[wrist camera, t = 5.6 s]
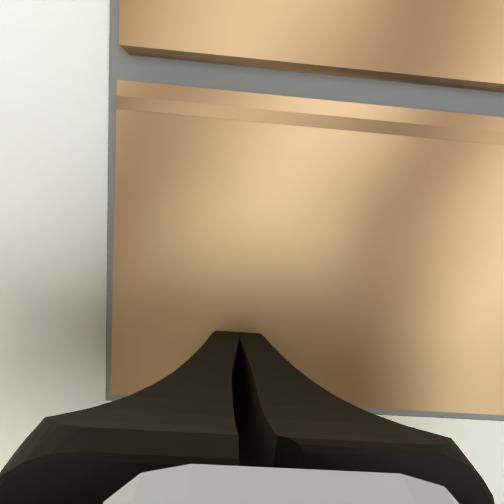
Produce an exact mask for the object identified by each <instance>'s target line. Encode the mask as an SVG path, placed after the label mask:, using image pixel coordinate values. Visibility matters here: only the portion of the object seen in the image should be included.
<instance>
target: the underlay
mask: <svg viewBox="0 0 504 504" xmlns="http://www.w3.org/2000/svg"><path fill="white" fill-rule="evenodd" d="M119 3H120V0H110V39H109V134H108V228H107V322H106V400H111V401H115V400H118V399H121V398H124V397H126V396H129V395H113V394H111V350H112V302H113V255H114V207H115V159H116V112H117V109H116V101H117V80H126V81H136V82H146V83H156V84H167V85H177V86H187V87H198V88H208V89H218V90H228V91H239V92H249V93H259V94H270V95H280V96H290V97H300V98H311V99H321V100H331V101H341V102H352V103H362V104H372V105H383V106H393V107H403V108H413V109H424V110H434V111H444V112H455V113H465V114H475V115H485V116H496V117H504V93H502V92H492V91H482V90H472V89H462V88H452V87H443V86H433V85H423V84H413V83H403V82H393V81H383V80H373V79H363V78H353V77H343V76H334V75H324V74H314V73H304V72H294V71H284V70H274V69H264V68H254V67H244V66H234V65H225V64H215V63H205V62H195V61H185V60H175V59H165V58H155V57H145V56H135V55H129V54H128V53H127V52H126V51H125V50H124V49H123V48H122V47H121V46H120V45H119ZM361 409H363V410H365V411H368V412H370V413H372V414H379V415H398V416H417V417H436V418H456V419H475V420H494V421H504V415H490V414H471V413H453V412H434V411H415V410H396V409H377V408H361Z"/></svg>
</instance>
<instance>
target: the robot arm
mask: <svg viewBox="0 0 504 504" xmlns="http://www.w3.org/2000/svg"><path fill="white" fill-rule="evenodd" d="M0 504H494V499H493V495H492V494H491V492H490V490H489V489H488V487H487V485H486V484H485V482H484V480H483V479H482V477H481V476H480V475H479V473H478V472H477V471H476V469H475V468H474V467H473V466H472V464H471V463H470V462H469V460H468V459H467V458H466V456H465V455H464V454H463V453H462V451H461V450H460V449H459V447H458V446H457V445H456V444H455V443H454V441H453V440H452V439H451V438H448V437H444V436H441V435H437V434H433V433H430V432H426V431H423V430H419V429H415V428H412V427H408V426H405V425H402V424H399V423H396V422H393V421H391V420H388V419H385V418H382V417H380V416H377V415H375V414H372V413H370V412H368V411H365V410H363V409H361V408H359V407H357V406H355V405H353V404H351V403H349V402H347V401H345V400H343V399H341V398H339V397H337V396H335V395H334V394H332V393H330V392H329V391H327V390H326V389H324V388H322V387H321V386H319V385H318V384H316V383H315V382H313V381H312V380H310V379H309V378H308V377H306V376H305V375H304V374H303V373H302V372H300V371H299V370H298V369H297V368H295V367H294V366H293V365H292V364H291V363H290V362H289V361H287V360H286V359H285V358H284V357H283V356H282V355H281V354H280V353H279V352H278V351H277V350H276V349H275V348H274V347H273V346H272V345H271V344H270V342H269V341H268V340H267V339H266V338H265V337H264V336H263V335H262V334H261V333H246V332H231V331H216V330H215V331H214V332H213V333H212V334H211V335H210V336H209V338H208V339H207V340H206V342H205V343H204V344H203V345H202V346H201V347H200V348H199V349H198V350H197V351H196V352H195V353H194V354H193V355H192V356H191V357H190V358H189V359H188V360H187V361H186V362H185V363H183V364H182V365H181V366H180V367H179V368H178V369H176V370H175V371H174V372H172V373H171V374H169V375H168V376H166V377H165V378H163V379H161V380H160V381H158V382H156V383H154V384H152V385H150V386H148V387H146V388H144V389H142V390H140V391H138V392H135V393H133V394H131V395H129V396H126V397H124V398H121V399H118V400H115V401H113V402H109V403H106V404H103V405H100V406H96V407H93V408H89V409H85V410H80V411H75V412H71V413H66V414H61V415H56V416H51V417H45V418H44V419H43V420H42V421H41V423H40V424H39V425H38V426H37V427H36V428H35V429H34V430H33V432H32V433H31V434H30V435H29V436H28V437H27V438H26V439H25V441H24V442H23V443H22V444H21V446H20V447H19V448H18V449H17V451H16V452H15V453H14V454H13V456H12V457H11V459H10V460H9V461H8V463H7V464H6V465H5V467H4V468H3V469H2V471H1V472H0Z"/></svg>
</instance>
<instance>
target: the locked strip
mask: <svg viewBox="0 0 504 504" xmlns="http://www.w3.org/2000/svg"><path fill="white" fill-rule="evenodd" d="M119 45H120V46H121V47H122V48H123V49H124V50H125V51H126V52H127V53H128V54H129V55H135V56H145V57H155V58H165V59H175V60H185V61H195V62H205V63H215V64H225V65H234V66H244V67H254V68H264V69H274V70H284V71H294V72H304V73H314V74H324V75H334V76H343V77H353V78H363V79H373V80H383V81H393V82H403V83H413V84H423V85H433V86H443V87H452V88H462V89H472V90H482V91H492V92H502V93H504V0H120V3H119Z"/></svg>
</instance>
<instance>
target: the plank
mask: <svg viewBox="0 0 504 504" xmlns="http://www.w3.org/2000/svg"><path fill="white" fill-rule="evenodd" d="M116 109H117V112H116V159H115V207H114V255H113V302H112V350H111V394H113V395H131V394H133V393H135V392H138V391H140V390H142V389H144V388H146V387H148V386H150V385H152V384H154V383H156V382H158V381H160V380H161V379H163V378H165V377H166V376H168V375H169V374H171V373H172V372H174V371H175V370H176V369H178V368H179V367H180V366H181V365H182V364H183V363H185V362H186V361H187V360H188V359H189V358H190V357H191V356H192V355H193V354H194V353H195V352H196V351H197V350H198V349H199V348H200V347H201V346H202V345H203V344H204V343H205V342H206V340H207V339H208V338H209V336H210V335H211V334H212V333H213V332H214V331H215V330H216V331H231V332H246V333H261V334H262V335H263V336H264V337H265V338H266V339H267V340H268V341H269V342H270V344H271V345H272V346H273V347H274V348H275V349H276V350H277V351H278V352H279V353H280V354H281V355H282V356H283V357H284V358H285V359H286V360H287V361H289V362H290V363H291V364H292V365H293V366H294V367H295V368H297V369H298V370H299V371H300V372H302V373H303V374H304V375H305V376H306V377H308V378H309V379H310V380H312V381H313V382H315V383H316V384H318V385H319V386H321V387H322V388H324V389H326V390H327V391H329V392H330V393H332V394H334V395H335V396H337V397H339V398H341V399H343V400H345V401H347V402H349V403H351V404H353V405H355V406H357V407H359V408H377V409H396V410H415V411H434V412H453V413H471V414H490V415H504V117H496V116H485V115H475V114H465V113H455V112H444V111H434V110H424V109H413V108H403V107H393V106H383V105H372V104H362V103H352V102H341V101H331V100H321V99H311V98H300V97H290V96H280V95H270V94H259V93H249V92H239V91H228V90H218V89H208V88H198V87H187V86H177V85H167V84H156V83H146V82H136V81H126V80H117V101H116Z"/></svg>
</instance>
